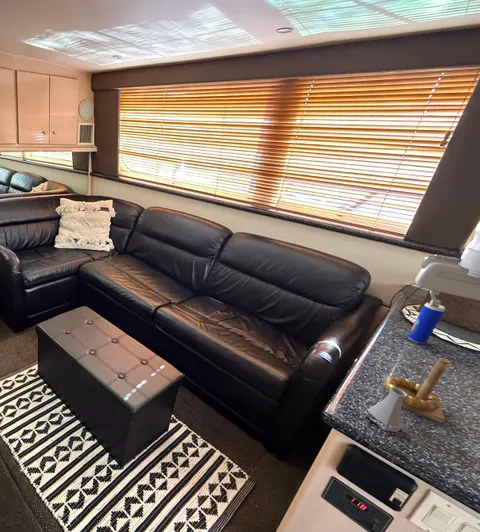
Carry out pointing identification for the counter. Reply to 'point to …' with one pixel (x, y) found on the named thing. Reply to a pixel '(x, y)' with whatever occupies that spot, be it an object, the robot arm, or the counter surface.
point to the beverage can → (425, 323)
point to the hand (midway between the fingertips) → (459, 312)
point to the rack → (428, 391)
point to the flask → (389, 409)
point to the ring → (427, 405)
